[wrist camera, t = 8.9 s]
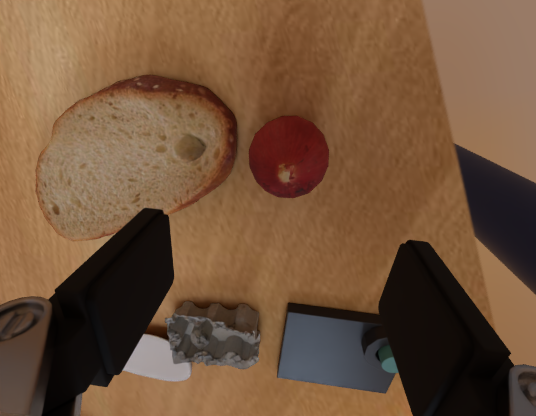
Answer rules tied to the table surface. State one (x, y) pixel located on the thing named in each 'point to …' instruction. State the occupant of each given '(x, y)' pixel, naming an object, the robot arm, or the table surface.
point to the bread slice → (133, 155)
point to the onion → (288, 156)
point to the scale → (333, 348)
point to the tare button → (387, 359)
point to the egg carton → (214, 335)
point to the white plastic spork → (156, 360)
